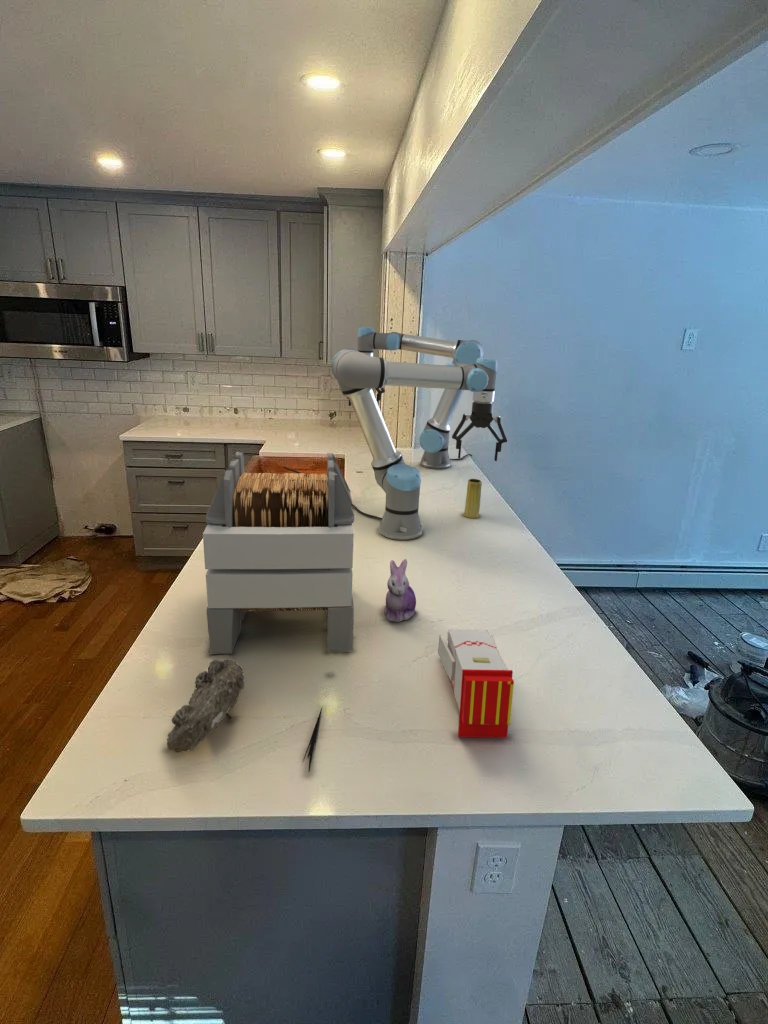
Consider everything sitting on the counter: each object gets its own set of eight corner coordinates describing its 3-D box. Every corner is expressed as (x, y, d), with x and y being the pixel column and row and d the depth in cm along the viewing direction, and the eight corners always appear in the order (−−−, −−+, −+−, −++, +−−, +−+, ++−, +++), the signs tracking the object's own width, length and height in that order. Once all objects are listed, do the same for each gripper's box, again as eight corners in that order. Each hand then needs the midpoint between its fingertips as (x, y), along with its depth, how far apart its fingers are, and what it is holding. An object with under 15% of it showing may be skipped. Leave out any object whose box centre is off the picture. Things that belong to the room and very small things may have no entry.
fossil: (192, 660, 117) (244, 628, 112) (224, 691, 120) (276, 661, 115) (142, 746, 98) (202, 712, 93) (182, 779, 101) (242, 748, 96)
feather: (331, 679, 122) (336, 673, 122) (307, 777, 96) (313, 769, 95) (324, 675, 122) (329, 669, 121) (298, 772, 95) (304, 764, 95)
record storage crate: (229, 585, 158) (221, 442, 144) (346, 584, 161) (350, 444, 148) (206, 656, 126) (193, 481, 112) (353, 652, 130) (358, 483, 116)
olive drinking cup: (463, 517, 219) (466, 482, 214) (463, 512, 224) (466, 477, 219) (479, 519, 218) (483, 483, 213) (479, 513, 224) (482, 479, 219)
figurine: (392, 627, 141) (395, 572, 136) (374, 608, 149) (376, 556, 144) (425, 619, 145) (429, 566, 140) (405, 601, 154) (408, 550, 149)
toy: (488, 613, 130) (523, 677, 101) (484, 667, 133) (517, 744, 104) (435, 612, 130) (455, 676, 101) (432, 666, 133) (451, 743, 103)
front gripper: (448, 401, 204) (443, 458, 211) (518, 405, 201) (511, 463, 208) (448, 398, 211) (444, 454, 218) (516, 402, 208) (510, 458, 215)
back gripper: (337, 360, 267) (336, 405, 274) (390, 363, 264) (388, 409, 271) (340, 359, 274) (340, 403, 281) (392, 362, 271) (389, 406, 278)
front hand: (477, 458), depth 213 cm, fingers open, 13 cm apart
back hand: (363, 406), depth 276 cm, fingers open, 13 cm apart
